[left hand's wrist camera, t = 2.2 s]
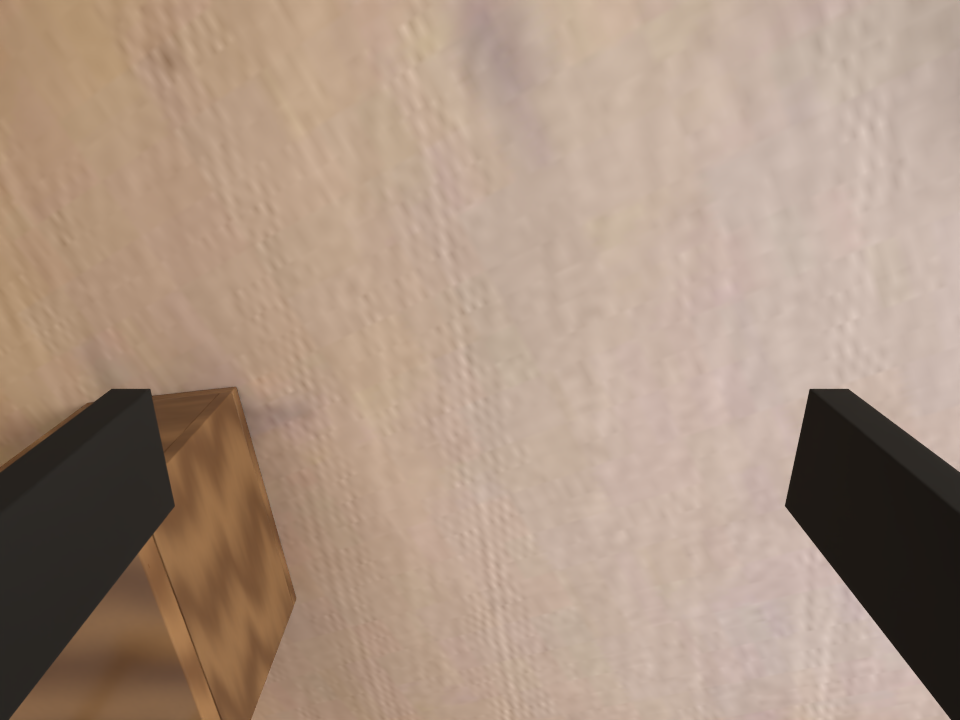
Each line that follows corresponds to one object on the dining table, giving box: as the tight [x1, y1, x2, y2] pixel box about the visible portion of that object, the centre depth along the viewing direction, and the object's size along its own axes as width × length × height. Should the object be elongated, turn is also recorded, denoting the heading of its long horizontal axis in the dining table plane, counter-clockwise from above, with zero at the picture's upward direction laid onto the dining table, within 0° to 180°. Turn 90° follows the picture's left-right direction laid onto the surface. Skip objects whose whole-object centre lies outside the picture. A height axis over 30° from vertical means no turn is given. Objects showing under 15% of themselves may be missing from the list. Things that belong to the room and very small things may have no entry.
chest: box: [0, 387, 296, 720], centre depth 34 cm, size 16×9×11 cm, turn 7°
